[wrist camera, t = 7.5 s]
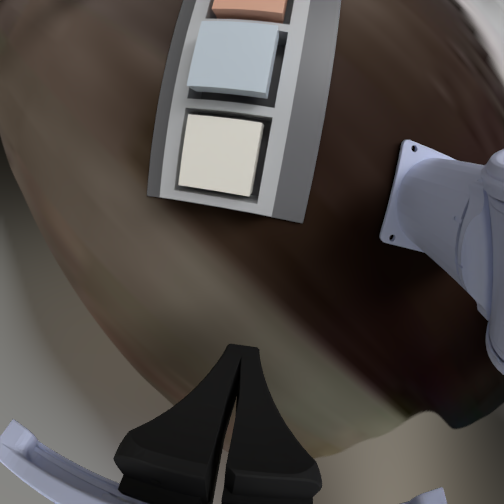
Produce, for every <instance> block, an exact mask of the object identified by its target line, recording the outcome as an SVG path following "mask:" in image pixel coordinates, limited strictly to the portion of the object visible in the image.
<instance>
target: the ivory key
mask: <svg viewBox="0 0 504 504" xmlns="http://www.w3.org/2000/svg"><path fill="white" fill-rule="evenodd" d="M263 129H264V125H263V123H260V122H254V121H247V120H240V119H232V118H223V117H214V116H203V115H191V114H188V119H187V125H186V131H185V138H184V145H183V152H182V159H181V167H180V175H179V184H178V185H181V186H188V187H195V188H201V189H208V190H214V191H220V192H226V193H232V194H237V195H243V196H250V195H251V193H252V192H253V186H254V180H255V175H256V169H257V163H258V157H259V152H260V146H261V140H262V135H263Z"/></svg>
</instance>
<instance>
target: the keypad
mask: <svg viewBox="0 0 504 504" xmlns="http://www.w3.org/2000/svg"><path fill="white" fill-rule="evenodd" d="M213 2H214V0H183V3H182V6H181V10H180V13H179V16H178V20H177V23H176V26H175V30H174V34H173V37H172V41H171V45H170V49H169V53H168V58H167V62H166V66H165V71H164V76H163V80H162V85H161V91H160V96H159V102H158V107H157V113H156V120H155V126H154V133H153V141H152V149H151V157H150V167H149V177H148V189H147V196H152V197H159V198H166V199H172V200H178V201H185V202H191V203H197V204H203V205H209V206H214V207H220V208H226V209H231V210H237V211H242V212H248V213H253V214H258V215H263V216H269V217H274V218H279V219H284V220H289V221H294V222H298V223H303V220H304V216H305V211H306V207H307V202H308V197H309V193H310V188H311V183H312V178H313V174H314V169H315V164H316V159H317V154H318V149H319V143H320V138H321V133H322V127H323V122H324V116H325V110H326V105H327V99H328V93H329V87H330V80H331V74H332V67H333V61H334V54H335V46H336V39H337V31H338V23H339V15H340V6H341V0H288V1H287V6H286V11H285V16H284V21H283V24H281V23H273V22H265V21H254V20H241V19H217V17H216V15H215V14H214V12H213V10H212V6H213ZM201 21H233V22H249V23H260V24H270V25H278V28H279V40H278V45H277V50H276V55H275V61H274V66H273V71H272V77H271V82H270V88H269V93H268V99H265V98H258V97H250V96H243V95H234V94H224V93H212V92H196V91H195V90H193V89H191V88H190V87H188V86H187V81H188V76H189V71H190V67H191V62H192V58H193V53H194V49H195V45H196V41H197V37H198V33H199V29H200V25H201ZM188 114H191V115H203V116H214V117H223V118H232V119H240V120H247V121H254V122H260V123H263V125H264V129H263V135H262V140H261V146H260V152H259V157H258V163H257V169H256V175H255V180H254V186H253V192H252V193H251V195H250V196H243V195H237V194H232V193H226V192H220V191H214V190H208V189H201V188H195V187H188V186H181V185H178V184H179V175H180V167H181V159H182V152H183V145H184V138H185V131H186V125H187V119H188Z"/></svg>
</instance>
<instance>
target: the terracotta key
mask: <svg viewBox="0 0 504 504" xmlns="http://www.w3.org/2000/svg"><path fill="white" fill-rule="evenodd" d="M287 1H288V0H214V2H213V6H212V10H213V12H214V14H215V15H216V17H217V19H241V20H254V21H265V22H273V23H281V24H283V21H284V16H285V11H286V6H287Z"/></svg>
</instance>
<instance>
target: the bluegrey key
mask: <svg viewBox="0 0 504 504" xmlns="http://www.w3.org/2000/svg"><path fill="white" fill-rule="evenodd" d="M278 40H279V28H278V25H270V24H260V23H249V22H233V21H201V25H200V29H199V33H198V37H197V41H196V45H195V49H194V53H193V58H192V62H191V67H190V71H189V76H188V81H187V86H188V87H190V88H191V89H193V90H195V91H196V92H212V93H224V94H234V95H243V96H250V97H258V98H265V99H268V93H269V88H270V82H271V77H272V71H273V66H274V61H275V55H276V50H277V45H278Z"/></svg>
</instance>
